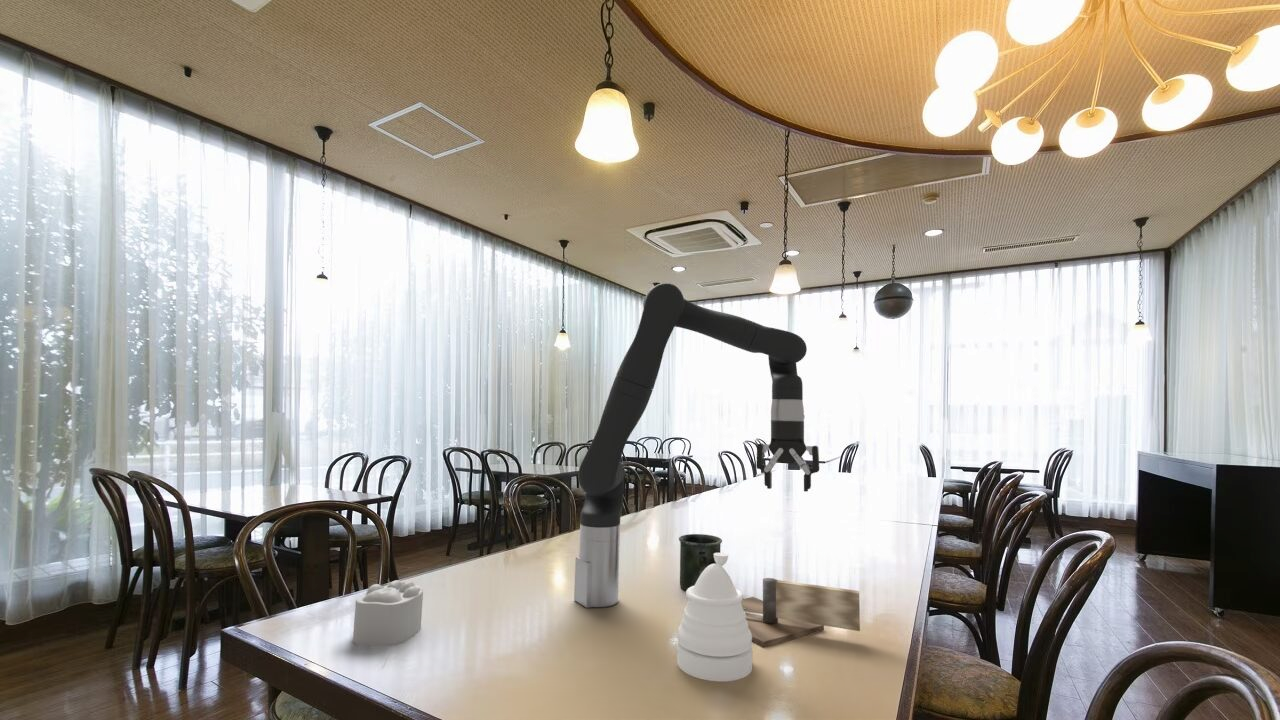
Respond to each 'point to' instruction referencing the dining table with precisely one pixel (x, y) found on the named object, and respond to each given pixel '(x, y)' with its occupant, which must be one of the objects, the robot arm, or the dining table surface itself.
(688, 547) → the mug
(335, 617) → the dining table surface
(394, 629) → the lumpy-topped squat cylinder
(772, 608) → the plank on dark post
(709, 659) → the honey pot
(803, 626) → the wooden sign stand
